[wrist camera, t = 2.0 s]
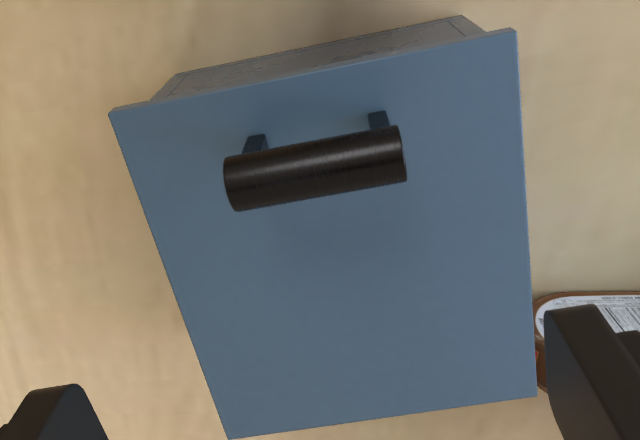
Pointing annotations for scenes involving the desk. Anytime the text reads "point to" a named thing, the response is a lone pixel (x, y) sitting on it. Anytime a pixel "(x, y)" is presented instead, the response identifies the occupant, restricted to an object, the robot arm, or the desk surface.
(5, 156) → the desk surface
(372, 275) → the lid
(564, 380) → the robot arm
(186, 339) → the desk surface
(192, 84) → the compartment
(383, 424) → the desk surface
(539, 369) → the tin
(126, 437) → the desk surface
